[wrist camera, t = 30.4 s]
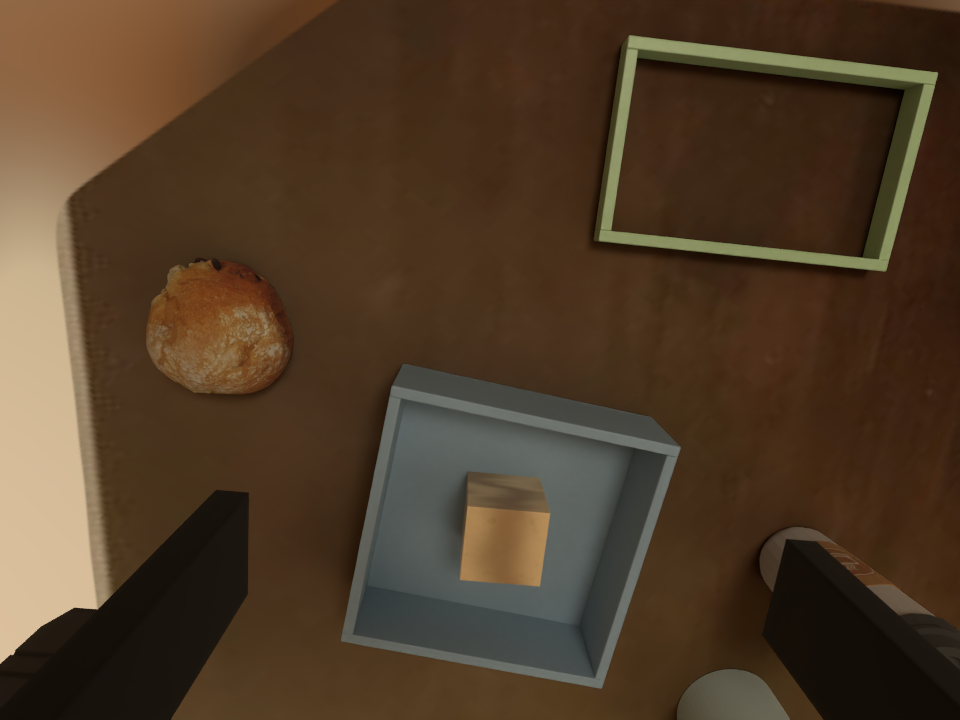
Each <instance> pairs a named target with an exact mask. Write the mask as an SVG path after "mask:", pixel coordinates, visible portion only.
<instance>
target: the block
mask: <svg viewBox="0 0 960 720" xmlns="http://www.w3.org/2000/svg"><path fill="white" fill-rule="evenodd" d="M549 519H550V511H549V507H548V504H547V500H546V497H545V493H544V490H543V486H542V483H541V479H540V478H538V477H527V476H516V475H504V474H493V473H482V472H471V471H468V474H467V483H466V492H465V502H464V511H463V521H462V530H461V547H460V580H466V581H478V582H490V583H503V584H515V585H527V586H540V582H541V575H542V568H543V561H544V554H545V547H546V540H547V533H548V526H549Z"/></svg>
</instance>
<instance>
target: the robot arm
mask: <svg viewBox="0 0 960 720" xmlns="http://www.w3.org/2000/svg"><path fill="white" fill-rule="evenodd" d="M248 514H249V493H246V492H234V491H223V490H216V491H215V492H214V493H213V494H212V495H211V496H210V497H209V498H208V499H207V500H206V501H205V502H204V503H203V504H202V505H201V506H200V507H199V508H198V509H197V510H196V511H195V512H194V513H193V514H192V515H191V516H190V517H189V518H188V519H187V520H186V521H185V522H184V523H183V524H182V525H181V526H180V527H179V528H178V529H177V530H176V531H175V532H174V533H173V534H172V535H171V536H170V537H169V538H168V539H167V540H166V541H165V542H164V543H163V544H162V545H161V546H160V547H159V548H158V549H157V550H156V551H155V552H154V553H153V554H152V555H151V556H150V557H149V558H148V559H147V560H146V561H145V562H144V563H143V564H142V565H141V566H140V567H139V568H138V569H137V570H136V572H135V573H134V574H133V575H132V576H131V577H130V578H129V579H128V580H127V581H126V582H125V583H124V584H123V585H122V586H121V587H120V588H119V589H118V590H117V591H116V592H115V593H114V594H113V595H112V596H111V597H110V598H109V599H108V600H107V601H106V602H105V603H104V604H103V605H102V606H101V607H100V608H99V609H98V610H97V609H83V608H73V609H71V610H70V611H68V612H66V613H64V614H63V615H61V616H59V617H57V618H56V619H54V620H52V621H51V622H49V623H47V624H45V625H43V626H41V627H40V628H39V629H38V630H37V631H36V632H35V633H34V634H33V635H31V636H30V637H29V638H28V639H27V640H26V641H25V642H24V643H23V644H22V645H21V646H20V647H18V648H17V649H16V650H15V653H14V655H10V656H9V657H8V658H6V659H5V660H4V661H3V662H2V663H1V664H0V720H171V718H172V716H173V715H174V713H175V712H176V710H177V708H178V707H179V705H180V703H181V702H182V700H183V699H184V697H185V695H186V694H187V692H188V690H189V689H190V687H191V686H192V684H193V682H194V681H195V679H196V677H197V676H198V674H199V673H200V671H201V669H202V668H203V666H204V664H205V663H206V661H207V660H208V658H209V656H210V655H211V653H212V651H213V650H214V648H215V647H216V645H217V643H218V642H219V640H220V638H221V637H222V635H223V634H224V632H225V630H226V629H227V627H228V625H229V624H230V622H231V621H232V619H233V617H234V616H235V614H236V612H237V611H238V609H239V608H240V606H241V604H242V603H243V601H244V599H245V598H246V596H247V595H248ZM762 635H763V637H764V638H765V639H766V641H767V642H768V644H769V645H770V646H771V648H772V649H773V650H774V652H775V653H776V655H777V656H778V657H779V659H780V660H781V661H782V663H783V664H784V666H785V667H786V668H787V670H788V671H789V673H790V674H791V675H792V677H793V678H794V679H795V681H796V682H797V684H798V685H799V686H800V688H801V689H802V690H803V692H804V693H805V695H806V696H807V697H808V699H809V700H810V701H811V703H812V704H813V706H814V707H815V708H816V710H817V711H818V713H819V714H820V715H821V717H822V718H823V719H824V720H960V669H959V668H958V667H956V666H955V665H954V664H953V663H952V662H951V661H950V660H949V659H947V658H946V657H945V656H944V655H943V654H942V653H941V652H940V651H939V650H937V649H936V648H935V647H934V646H933V645H932V644H931V643H930V642H928V641H927V640H926V639H925V638H924V637H923V636H922V635H921V634H919V633H918V632H917V631H916V630H915V629H914V628H913V627H912V626H911V625H909V624H908V623H907V622H906V621H905V620H904V619H903V618H902V617H900V616H899V615H898V614H897V613H896V612H895V611H894V610H893V609H891V608H890V607H889V606H888V605H887V604H886V603H885V602H884V601H883V600H881V599H880V598H879V597H878V596H877V595H876V594H875V593H874V592H872V591H871V590H870V589H869V588H868V587H867V586H866V585H865V584H863V583H862V582H861V581H860V580H859V579H858V578H857V577H856V576H855V575H853V574H852V573H851V572H850V571H849V570H848V569H847V568H846V567H844V566H843V565H842V564H841V563H840V562H839V561H838V560H837V559H835V558H834V557H833V556H832V555H831V554H830V553H829V552H828V551H827V550H825V549H824V548H823V547H822V546H821V545H820V544H819V543H818V542H816V541H806V540H795V539H786V541H785V545H784V549H783V553H782V557H781V561H780V565H779V569H778V573H777V577H776V581H775V585H774V589H773V593H772V597H771V601H770V605H769V609H768V613H767V617H766V621H765V625H764V629H763V633H762Z"/></svg>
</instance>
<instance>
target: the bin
mask: <svg viewBox="0 0 960 720" xmlns="http://www.w3.org/2000/svg"><path fill="white" fill-rule="evenodd" d="M680 448H681V447H680V446H679V445H678V444H677V443H676V442H675V441H674V440H673V439H672V438H671V437H670V436H669V435H668V434H667V433H666V432H665V431H664V430H663V429H662V428H661V427H660V426H659V425H658V423H657V422H656V421H655V420H654V419H653V418H652V417H648V416H644V415H639V414H634V413H630V412H625V411H621V410H616V409H611V408H607V407H602V406H598V405H593V404H588V403H584V402H579V401H574V400H570V399H565V398H561V397H556V396H551V395H547V394H542V393H538V392H533V391H528V390H524V389H519V388H514V387H510V386H505V385H501V384H496V383H491V382H487V381H482V380H478V379H473V378H468V377H464V376H459V375H454V374H450V373H445V372H441V371H436V370H431V369H427V368H422V367H418V366H413V365H408V364H403V365H402V367H401V369H400V371H399V373H398V375H397V377H396V379H395V380H394V382H393V384H392V387H391V392H390V397H389V402H388V407H387V412H386V417H385V422H384V427H383V432H382V437H381V441H380V446H379V451H378V456H377V461H376V466H375V471H374V476H373V481H372V486H371V491H370V496H369V501H368V506H367V511H366V516H365V521H364V526H363V531H362V536H361V541H360V546H359V551H358V556H357V561H356V566H355V571H354V576H353V581H352V586H351V591H350V596H349V601H348V606H347V611H346V616H345V621H344V626H343V631H342V636H341V641H342V642H347V643H353V644H358V645H364V646H369V647H375V648H380V649H386V650H391V651H397V652H402V653H408V654H413V655H419V656H424V657H430V658H435V659H441V660H446V661H452V662H457V663H463V664H468V665H474V666H479V667H485V668H490V669H496V670H501V671H507V672H512V673H518V674H523V675H529V676H534V677H540V678H545V679H551V680H556V681H562V682H568V683H573V684H579V685H584V686H590V687H595V688H601V689H602V686H603V683H604V680H605V677H606V674H607V671H608V668H609V665H610V662H611V658H612V655H613V652H614V649H615V646H616V643H617V640H618V637H619V634H620V631H621V628H622V625H623V622H624V619H625V616H626V613H627V610H628V607H629V604H630V601H631V598H632V594H633V591H634V588H635V585H636V582H637V579H638V576H639V573H640V570H641V567H642V564H643V561H644V558H645V555H646V552H647V549H648V546H649V543H650V540H651V537H652V533H653V530H654V527H655V524H656V521H657V518H658V515H659V512H660V509H661V506H662V503H663V500H664V497H665V494H666V491H667V488H668V485H669V482H670V479H671V476H672V473H673V469H674V466H675V463H676V460H677V457H678V454H679V451H680ZM468 471H471V472H482V473H493V474H504V475H516V476H527V477H538V478H540V479H541V483H542V486H543V490H544V493H545V497H546V500H547V504H548V507H549V511H550V519H549V526H548V533H547V540H546V547H545V554H544V561H543V568H542V575H541V582H540V586H527V585H515V584H503V583H490V582H478V581H466V580H460V547H461V530H462V521H463V511H464V502H465V492H466V483H467V474H468Z"/></svg>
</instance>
